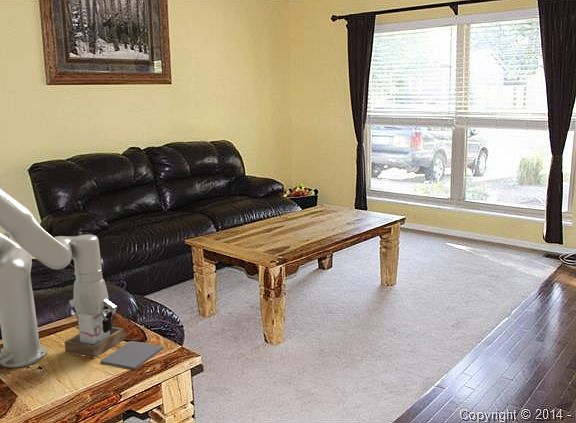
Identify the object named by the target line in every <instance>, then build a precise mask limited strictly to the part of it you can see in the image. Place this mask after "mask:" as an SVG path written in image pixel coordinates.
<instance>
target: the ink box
mask: <svg viewBox="0 0 576 423" xmlns="http://www.w3.org/2000/svg"><path fill="white" fill-rule="evenodd" d="M104 314H105V315H107V314H106V313H105V312H104ZM103 320H104V319H103V318H102V317H101V315H100V314H99V315H93V314H87V313H82V312H80V313H79V315H78V320H77V324H78V323H79V328H78V330H79V331H78V334H80V343H83V344H88V345H95V344H96V343H98V342H100V341H101V340H103V339H105V338H106V337H108V336H110V331H108V332H107V333H104V332H103V324H102V321H103Z"/></svg>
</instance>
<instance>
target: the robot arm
mask: <svg viewBox="0 0 576 423" xmlns="http://www.w3.org/2000/svg"><path fill="white" fill-rule="evenodd" d="M0 228H1V229H2V230H3V231H5V232H6V233H7V234H8V236H10V238H9V237H7V236H6V235H5V234H3V233H2V232H0V330H1V331H0V332H1V338H2V344H3V348H0V365H1V366H3V367H5V368H20V367H21V368H22V367H26V366H30V365H33V364H34V363H35V364H36V363H37V362H39V361H41V360H43V359H44V358H45V356H46V355H47V349H46V347H44V346H43V345H41V344H40V337H39V330H38V328H39V327H38V322H37V321H38V320H37V315H36V313H37V312H36V304H35V300H34V299H35V298H34V291H33V286H32V278H31V271H32V267H33V260H32V257H33V258H34V259H36V260H37V261H39V262H40V263H42V264H43V265H44V266H46V267H48V268H50V269H53V270H62V269H64V268H66V267H67V266H69V265H70V263H71V261H72V260H73V264H74V272H73V274H74V275H75V280H74V283H73V298H72V299H70V300H68V302H69V305H70V307H71V309H72V312H74V315H75V317H76V319H77V321H78V315H79V313H80V312H82V313H87V314H93V315H99V314H100V315H101V317H102V318H103V319H104V320H103V321H102V324H103V332H104V333H107V332H108V331H110V330H111V329H112V327H113V326H112V325H113V324H112V318H113V317H114V315H115V314H116V310H117V305H115V304H114V303H112V301H110V299H109V294H108V289H107V285H106V282H105V279H104V278H103V268H102V259H101V258H102V257H101V251H100V249H101V248H100V242H99V241H100V240H99V238H98V236H97V235H94V234H81V235H76V236H68V235H67V236H65V235H59V236H54V237H53V236H52V235H51V234H49V233H48V232H47V231H46V230H45V229H44V228H43V227H42V226H41V225H40V224H39V223H38V220H36V218H35V216H34V215H33V213H32V212H31V210H30V209H29V208H28V207H26V206H25V205H24V204H22V203H21V202H19V201H18V200H17V199H16V198H15V197H13V196H12V195H10V194H9V193H8V192H7V191H5V190H4V189H3V188H2V185H1V184H0ZM13 240H14V241H15V242H14V241H13ZM31 256H32V257H31ZM104 312H105V313H106V314H107V315H105V314H104ZM77 325H78V326H77V327H78V329H79V323H78V322H77Z"/></svg>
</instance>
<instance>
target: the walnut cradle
mask: <svg viewBox="0 0 576 423" xmlns="http://www.w3.org/2000/svg"><path fill="white" fill-rule="evenodd" d="M124 340H126V331H125V328H124V327H123V328H122V327H118V326H117V327H116V326H112V329H111V330H110V336H108V337H106V338H105V339H103V340H101V341H100V342H98V343H96V344H95V345H88V344H83V343H80V334H79V333H78V334H75V335H74V336H72V337H70V338H69V339H67V340H65V341H64V349H65V353H66V352H69V353H68V354H70V353H74V354H73V355H75V354H79V355H78V356H80V355H85V356H89V357H88V358H90V357H94V358H93V359H96V358H98V357H99V356H101V355H102V354H104V353H105V352H104V351H106V350H107V351H109V350H110V349H112V348H113V347H115V346H117V345H118V344H119V343H121V342H124ZM114 345H115V346H114ZM111 347H112V348H111ZM109 348H110V349H109ZM108 349H109V350H108ZM107 351H106V352H107ZM103 352H104V353H103ZM101 353H102V354H101ZM100 354H101V355H100ZM98 355H99V356H98ZM85 356H84V357H85ZM97 356H98V357H97ZM95 357H96V358H95Z"/></svg>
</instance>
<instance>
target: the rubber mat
mask: <svg viewBox="0 0 576 423" xmlns="http://www.w3.org/2000/svg"><path fill="white" fill-rule="evenodd" d="M162 350H164V346H162V345H157V344H151V343H146V342H140V341H136V340H135V341H134V340H130V341H129V342H126V343H125V344H124V345H123V346H121V347H119V348H118V349H116V350H115V351H113V352H112V353H110V354H108V355H107V356H106V357H103V359H102V360H100V363H102V364H106V365H111V366H116V367H120V368H125V369H131V370H136V369H138V368H139V367H141V365H143V364H144V363H146V362H147V361H148V360H150V359H151V358H153V357H154V356H155V355H156V354H158V353H159V352H160V351H162Z"/></svg>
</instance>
